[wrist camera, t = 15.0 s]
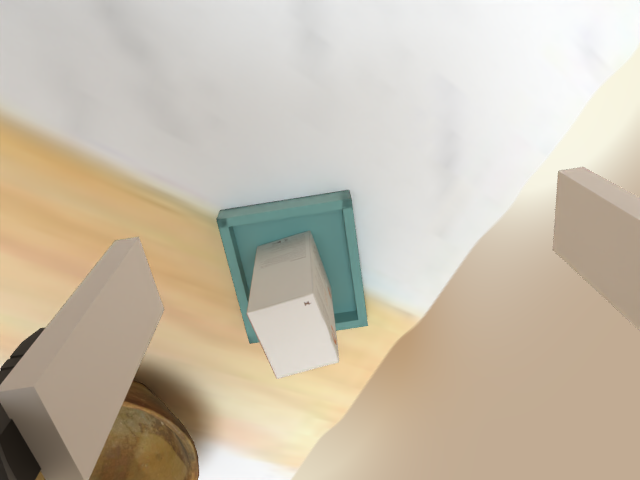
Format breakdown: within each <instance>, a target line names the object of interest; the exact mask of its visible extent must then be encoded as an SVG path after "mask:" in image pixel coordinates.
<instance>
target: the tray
mask: <svg viewBox="0 0 640 480" xmlns="http://www.w3.org/2000/svg"><path fill="white" fill-rule="evenodd" d="M217 224H218V227H219V231H220V235H221V239H222V242H223V246H224V250H225V253H226V257H227V261H228V265H229V268H230V272H231V276H232V280H233V283H234V287H235V291H236V295H237V298H238V302H239V306H240V310H241V313H242V317H243V321H244V325H245V328H246V332H247V336H248V339H249V343H250V344H251V343H257V342H259V340H258V338H257V335H256V333H255V331H254V329H253V327H252V325H251V323H250V320H249V318H248V316H247V314H246V313H247V308H248V302H249V295H250V289H251V282H252V276H253V270H254V264H255V257H256V251H257V247H258V246H261V245H264V244H267V243H270V242H273V241H277V240H280V239H283V238H286V237H290V236H293V235H296V234H299V233H302V232H306V231H311V234H312V236H313V239H314V242H315V244H316V247H317V250H318V252H319V255H320V258H321V261H322V263H323V266H324V269H325V272H326V275H327V278H328V280H329V283H330V286H331V292H332V302H333V311H334V318H335V328H336V331H337V330H343V329H350V328H357V327H363V326H368V323H367V315H366V307H365V300H364V292H363V284H362V277H361V269H360V261H359V254H358V246H357V238H356V231H355V223H354V215H353V208H352V200H351V196H350V192H349V190H345V191H339V192H332V193H326V194H320V195H313V196H307V197H301V198H294V199H288V200H282V201H275V202H269V203H263V204H256V205H250V206H244V207H237V208H231V209H225V210H220V212H219V214H218V217H217Z"/></svg>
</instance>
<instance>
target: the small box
mask: <svg viewBox="0 0 640 480" xmlns="http://www.w3.org/2000/svg"><path fill="white" fill-rule="evenodd" d="M246 314H247V316H248V318H249V320H250V323H251V325H252V327H253V329H254V331H255V333H256V335H257V338H258V340H259V342H260V344H261V346H262V348H263V350H264V353H265V355H266V357H267V359H268V361H269V363H270V365H271V367H272V370H273V372H274V374H275V376H276V378H282V377H286V376H289V375H293V374H297V373H300V372H304V371H308V370H311V369H315V368H319V367H323V366H326V365H330V364H334V363H338V362H339V354H338V345H337V337H336V328H335V318H334V311H333V302H332V292H331V286H330V283H329V280H328V278H327V275H326V272H325V269H324V266H323V263H322V261H321V258H320V255H319V252H318V250H317V247H316V244H315V242H314V239H313V236H312V234H311V231H306V232H302V233H299V234H296V235H293V236H290V237H286V238H283V239H280V240H277V241H273V242H270V243H267V244H264V245H261V246H258V247H257V251H256V257H255V264H254V270H253V276H252V282H251V289H250V295H249V302H248V308H247V313H246Z"/></svg>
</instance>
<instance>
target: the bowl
mask: <svg viewBox="0 0 640 480" xmlns="http://www.w3.org/2000/svg"><path fill="white" fill-rule="evenodd" d="M198 477H199V465H198V455H197V451H196V448H195V445H194V442H193V440H192V438H191V437H190V435H189V433H188V432H187V430H186V429H185V427H184V426H183V424H182V423H181V422H180V421H179V420H178V419H177V418H176V417H175V416H174V415H173V414H172V413H171V411H170V410H169V409H168V408H167V407H166V406H165V404H164V403H163V402H162V401H161V400H160V399H159V398H157V397H156V396H155V395H154V394H153V393H152V392H151V391H150V390H149V389H148V388H147V387H146V386H145V385H143V384H142V383H139V382H136V381H132V384H131V386H130V388H129V390H128V393H127V395H126V397H125V399H124V402H123V404H122V406H121V408H120V411H119V413H118V415H117V417H116V420H115V422H114V424H113V426H112V429H111V431H110V433H109V435H108V438H107V440H106V442H105V444H104V447H103V449H102V451H101V453H100V456H99V458H98V460H97V462H96V465H95V467H94V469H93V471H92V474H91V476H90V478H89V480H198ZM35 480H46V479H45V478H44V476H43V474H42V473H41V471H40V472H39V474H38V476H37V478H36V479H35Z"/></svg>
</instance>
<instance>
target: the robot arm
mask: <svg viewBox="0 0 640 480" xmlns="http://www.w3.org/2000/svg"><path fill="white" fill-rule="evenodd" d="M553 239H554V240H553V251H554V252H555V253H556V254H557V255H559V256H560V257H561V258H562V259H563V260H564V261H565V262H566V263H567V264H568V265H569V266H570V267H572V268H573V269H574V270H575V271H576V272H577V273H578V274H579V275H580V276H581V277H582V278H583V279H584V280H585V281H587V282H588V283H589V284H590V285H591V286H592V287H593V288H594V289H595V290H596V291H597V292H598V293H599V294H600V295H602V296H603V297H604V298H605V299H606V300H607V301H608V302H609V303H610V304H611V305H612V306H613V307H614V308H616V309H617V310H618V311H619V312H620V313H621V314H622V315H623V316H624V317H625V318H626V319H627V320H628V321H630V322H631V323H632V324H633V325H634V326H635V327H636V328H637V329H638V330H639V331H640V197H638V196H636V195H634V194H632V193H631V192H629V191H627V190H625V189H623V188H621V187H620V186H618V185H616V184H614V183H612V182H610V181H608V180H607V179H605V178H603V177H601V176H599V175H597V174H595V173H594V172H592V171H590V170H588V169H586V168H584V167H579V168H573V169H566V170H560V171H558V181H557V194H556V209H555V225H554V238H553ZM163 311H164V307H163V304H162V301H161V299H160V296H159V293H158V290H157V287H156V284H155V281H154V279H153V276H152V273H151V270H150V267H149V264H148V261H147V259H146V256H145V253H144V250H143V247H142V244H141V242H140V239H139V237H134V238H128V239H121V240H115V241H114V242H113V244H112V245H111V246H110V247H109V249H108V250H107V251H106V252H105V254H104V255H103V256H102V257H101V259H100V260H99V261H98V262H97V264H96V265H95V266H94V267H93V269H92V270H91V271H90V273H89V274H88V275H87V276H86V278H85V279H84V280H83V281H82V283H81V284H80V285H79V286H78V288H77V289H76V290H75V291H74V293H73V294H72V295H71V296H70V298H69V299H68V300H67V301H66V303H65V304H64V305H63V307H62V308H61V309H60V310H59V312H58V313H57V314H56V315H55V317H54V318H53V319H52V320H51V322H50V323H49V324H48V325H47V327H46V328H40V329H39V330H38V331H36V332H35V333H34V334H32V335H31V336H30V337H28V338H27V339H26V340H24V341H23V342H22V343H21V344H20V345H19V346H18V348H17V349H16V350H15V351H14V352H13V354H12V355H11V356H10V359H8V360H7V361H6V362H5V363H4V364H3V366H2V367H1V368H0V369H1V371H0V480H35V479H36V478H37V476H38V474H39V472H40V471H41V473H42V474H43V476H44V478H45V479H46V480H89V478H90V476H91V474H92V471H93V469H94V467H95V465H96V462H97V460H98V458H99V456H100V453H101V451H102V449H103V447H104V444H105V442H106V440H107V438H108V435H109V433H110V431H111V429H112V426H113V424H114V422H115V420H116V417H117V415H118V413H119V411H120V408H121V406H122V404H123V402H124V399H125V397H126V395H127V393H128V390H129V388H130V386H131V384H132V381H133V379H134V377H135V375H136V372H137V370H138V368H139V366H140V363H141V361H142V359H143V357H144V354H145V352H146V350H147V348H148V345H149V343H150V341H151V339H152V336H153V334H154V332H155V330H156V327H157V325H158V323H159V321H160V318H161V316H162V314H163Z"/></svg>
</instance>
